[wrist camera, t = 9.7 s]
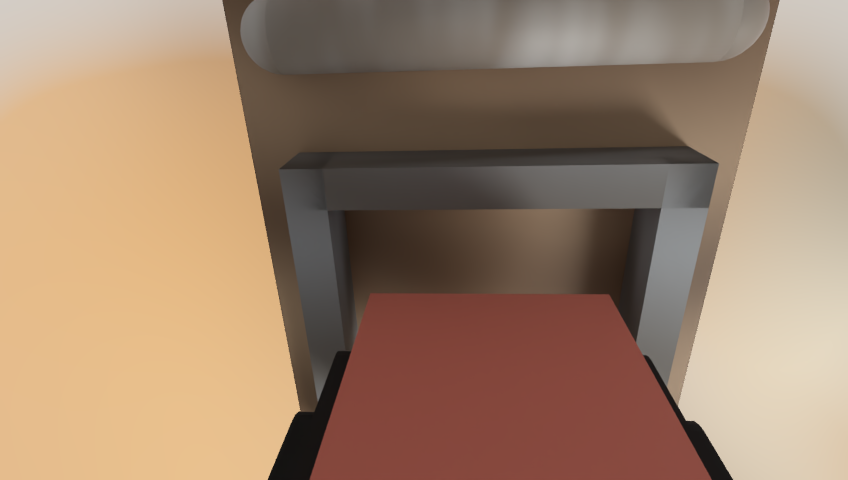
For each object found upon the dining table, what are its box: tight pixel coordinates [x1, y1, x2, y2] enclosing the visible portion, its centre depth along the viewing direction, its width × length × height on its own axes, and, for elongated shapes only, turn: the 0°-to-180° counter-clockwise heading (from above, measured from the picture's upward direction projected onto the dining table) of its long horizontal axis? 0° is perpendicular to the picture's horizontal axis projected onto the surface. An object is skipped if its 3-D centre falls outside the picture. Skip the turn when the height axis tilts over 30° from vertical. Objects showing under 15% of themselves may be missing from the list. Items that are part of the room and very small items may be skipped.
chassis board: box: [223, 0, 779, 412], centre depth 13 cm, size 16×12×3 cm
